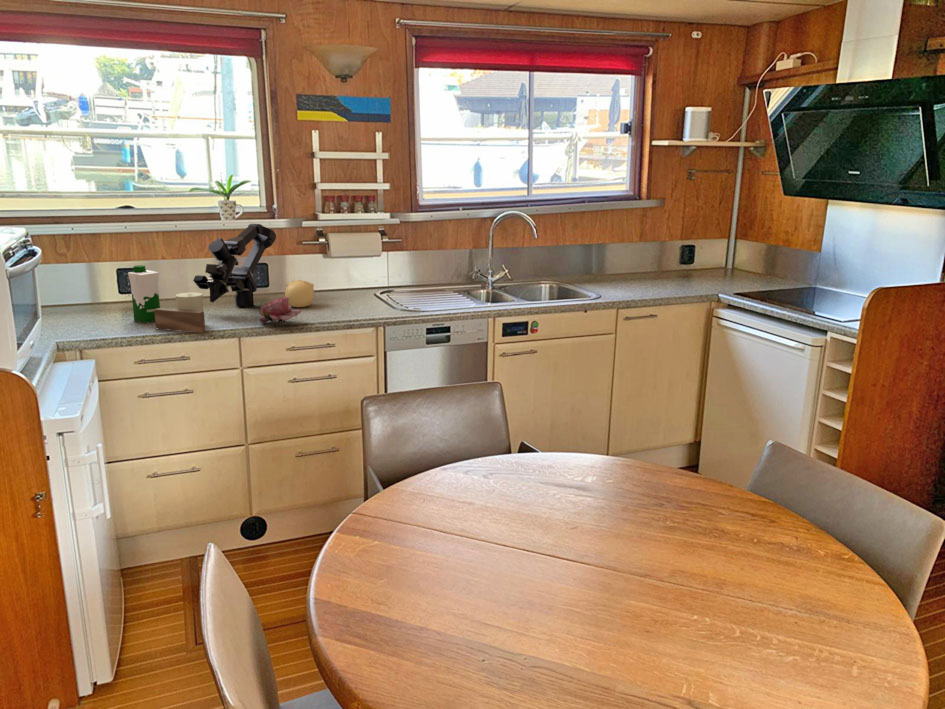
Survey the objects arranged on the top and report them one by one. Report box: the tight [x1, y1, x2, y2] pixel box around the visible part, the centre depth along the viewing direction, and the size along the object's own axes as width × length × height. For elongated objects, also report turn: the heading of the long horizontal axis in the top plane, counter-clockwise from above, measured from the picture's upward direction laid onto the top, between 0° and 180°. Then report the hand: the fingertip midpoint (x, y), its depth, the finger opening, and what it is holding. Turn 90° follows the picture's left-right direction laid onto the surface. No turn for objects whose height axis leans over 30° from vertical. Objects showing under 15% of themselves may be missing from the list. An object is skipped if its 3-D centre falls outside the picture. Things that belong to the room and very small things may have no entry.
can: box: [175, 291, 204, 311], centre depth 275 cm, size 9×9×12 cm
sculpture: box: [284, 279, 315, 308], centre depth 312 cm, size 12×12×11 cm
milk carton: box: [127, 264, 161, 324], centre depth 282 cm, size 9×9×20 cm
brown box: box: [154, 307, 206, 333], centre depth 270 cm, size 3×18×7 cm, turn 76°
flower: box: [259, 296, 302, 327], centre depth 280 cm, size 15×15×10 cm
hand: (211, 301), depth 288 cm, fingers closed
